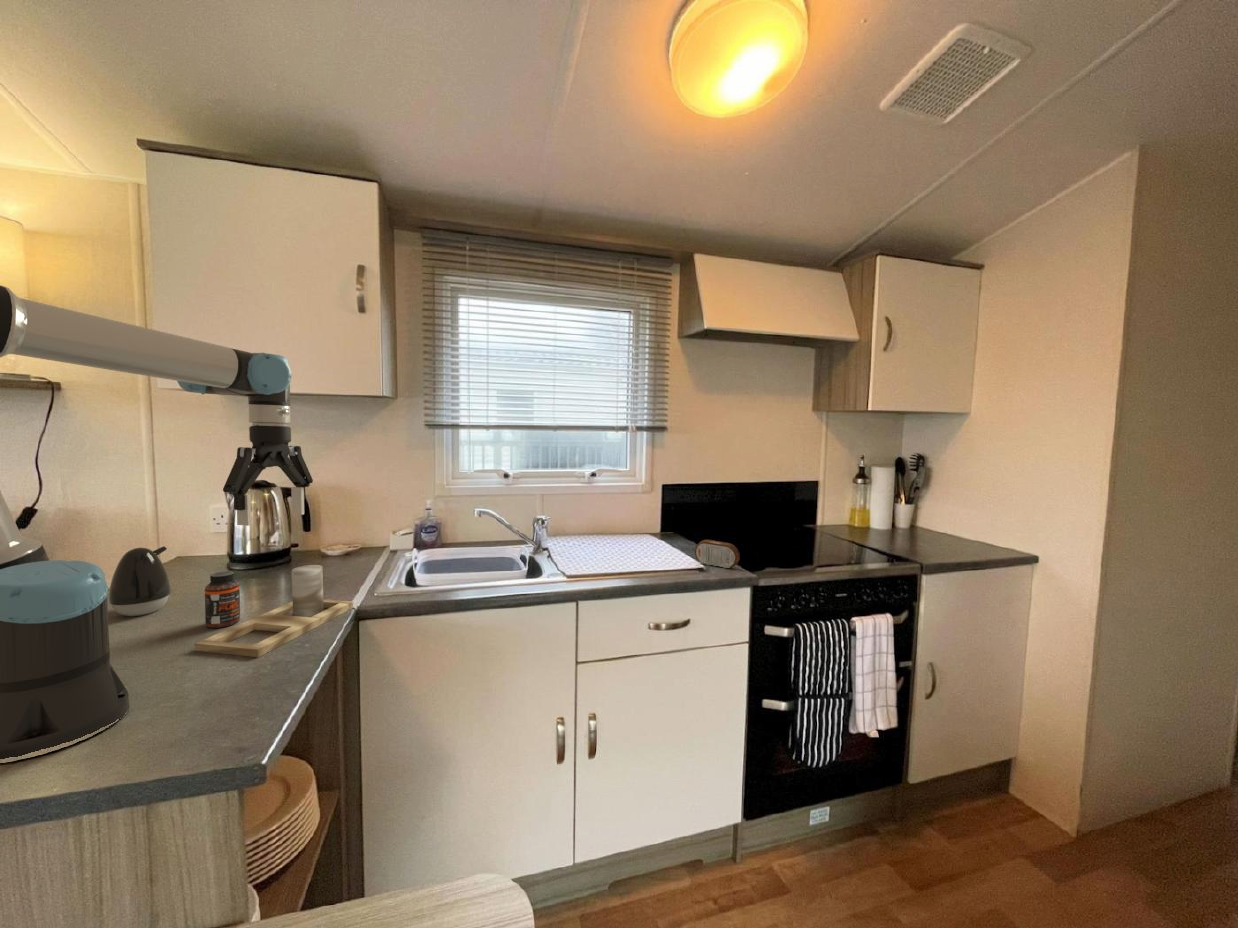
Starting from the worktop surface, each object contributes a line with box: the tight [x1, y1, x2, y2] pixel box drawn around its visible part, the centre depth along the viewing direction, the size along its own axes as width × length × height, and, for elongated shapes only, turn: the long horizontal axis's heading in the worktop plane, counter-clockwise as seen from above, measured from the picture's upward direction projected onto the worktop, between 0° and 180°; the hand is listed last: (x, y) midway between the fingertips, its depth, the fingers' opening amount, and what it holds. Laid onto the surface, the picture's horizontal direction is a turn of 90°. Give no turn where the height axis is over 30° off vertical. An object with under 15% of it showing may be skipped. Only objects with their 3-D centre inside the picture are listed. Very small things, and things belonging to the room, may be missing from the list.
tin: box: [694, 539, 740, 568], centre depth 160 cm, size 15×3×8 cm, turn 58°
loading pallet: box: [194, 564, 354, 658], centre depth 104 cm, size 26×14×11 cm, turn 172°
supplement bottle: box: [204, 570, 241, 629], centre depth 105 cm, size 6×6×11 cm
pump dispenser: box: [108, 546, 172, 617], centre depth 111 cm, size 10×10×15 cm
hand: (272, 519), depth 108 cm, fingers open, 13 cm apart
